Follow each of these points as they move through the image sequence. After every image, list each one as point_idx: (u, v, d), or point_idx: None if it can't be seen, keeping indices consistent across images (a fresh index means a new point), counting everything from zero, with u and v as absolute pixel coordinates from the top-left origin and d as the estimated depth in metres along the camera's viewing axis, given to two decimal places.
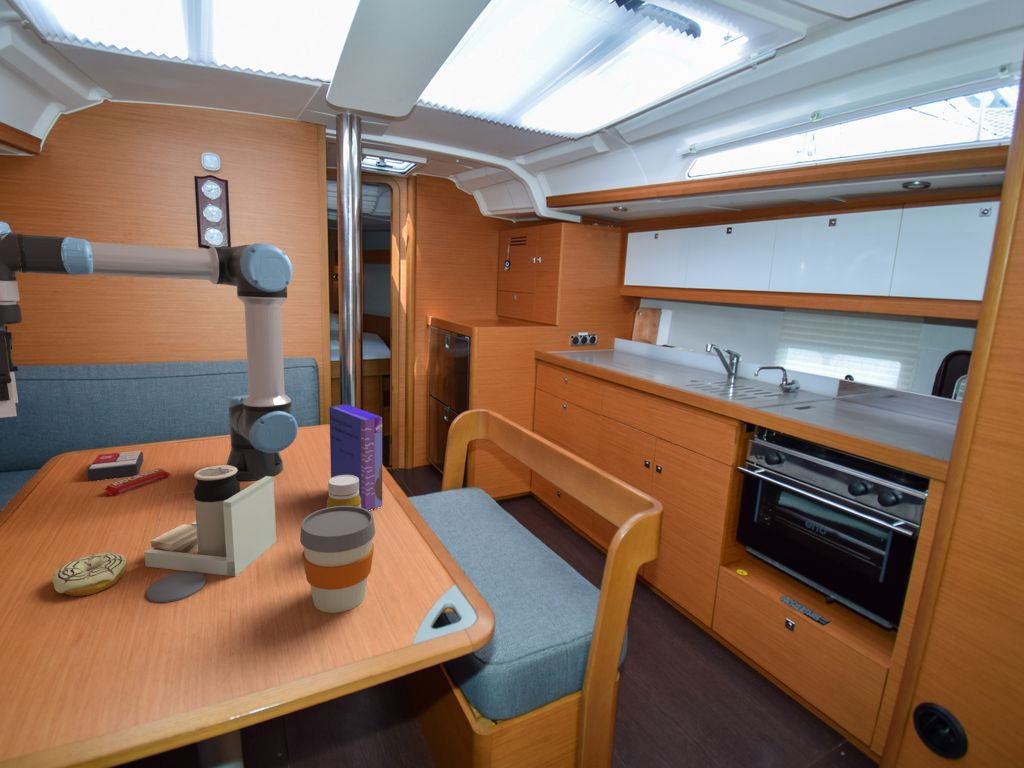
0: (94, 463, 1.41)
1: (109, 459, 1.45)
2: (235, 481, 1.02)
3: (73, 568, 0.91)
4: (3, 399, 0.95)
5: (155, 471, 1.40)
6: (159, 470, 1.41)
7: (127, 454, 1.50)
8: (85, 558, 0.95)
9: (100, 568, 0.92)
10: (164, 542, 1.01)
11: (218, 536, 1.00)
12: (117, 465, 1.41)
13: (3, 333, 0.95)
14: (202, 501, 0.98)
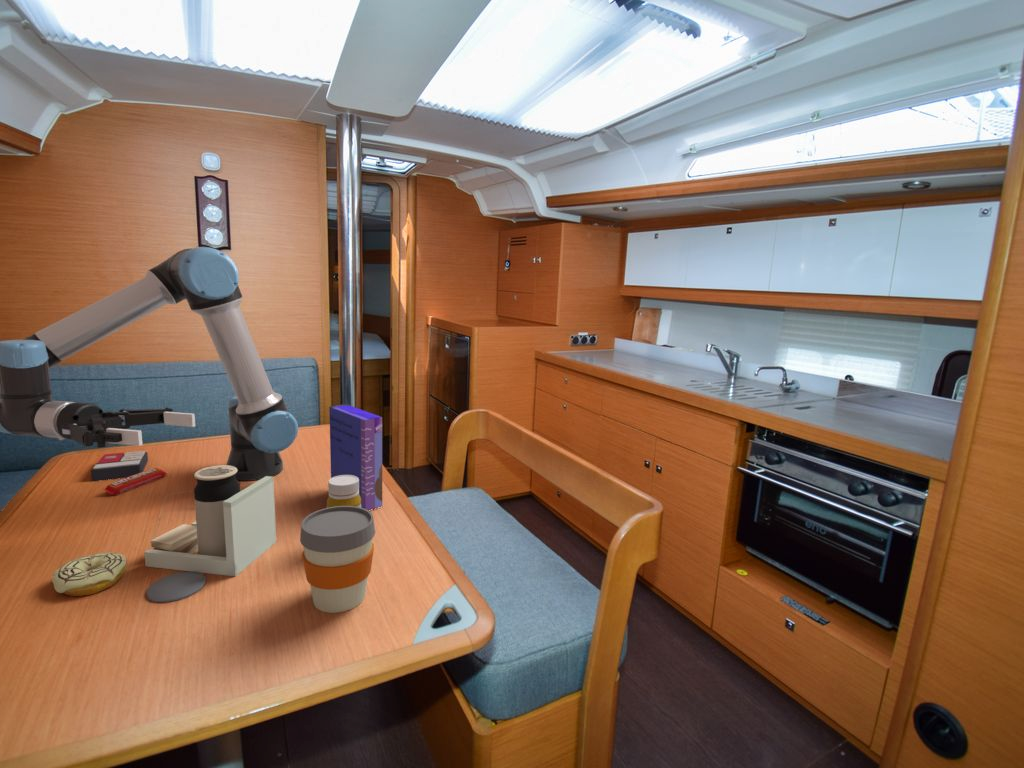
0: (98, 463, 1.42)
1: (113, 459, 1.45)
2: (235, 481, 1.02)
3: (73, 568, 0.91)
4: (115, 439, 0.93)
5: (152, 470, 1.41)
6: (156, 469, 1.42)
7: (132, 454, 1.50)
8: (85, 558, 0.95)
9: (100, 568, 0.92)
10: (164, 542, 1.01)
11: (218, 536, 1.00)
12: (120, 465, 1.41)
13: (63, 425, 0.96)
14: (202, 501, 0.98)
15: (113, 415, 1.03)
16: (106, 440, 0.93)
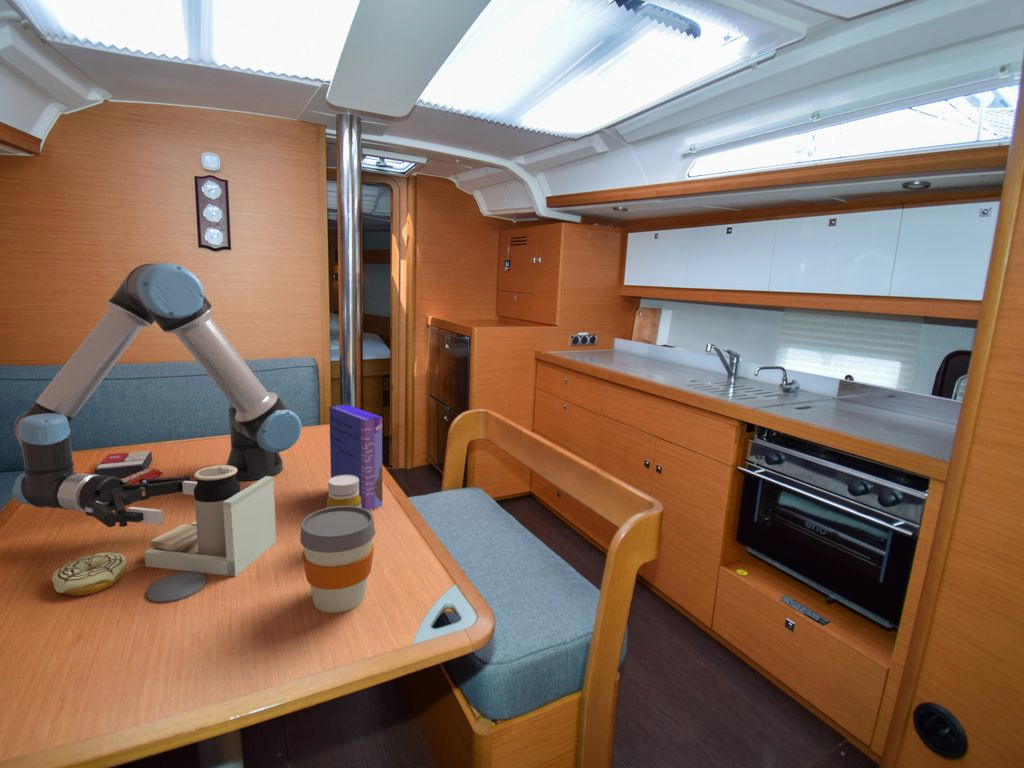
0: (102, 463, 1.42)
1: (117, 459, 1.45)
2: (235, 481, 1.02)
3: (73, 568, 0.91)
4: (137, 519, 0.95)
5: (149, 470, 1.41)
6: (152, 469, 1.42)
7: (136, 454, 1.50)
8: (85, 558, 0.95)
9: (100, 568, 0.92)
10: (164, 542, 1.01)
11: (218, 536, 1.00)
12: (124, 465, 1.41)
13: (85, 503, 0.98)
14: (202, 501, 0.98)
15: (133, 487, 1.05)
16: (128, 520, 0.95)
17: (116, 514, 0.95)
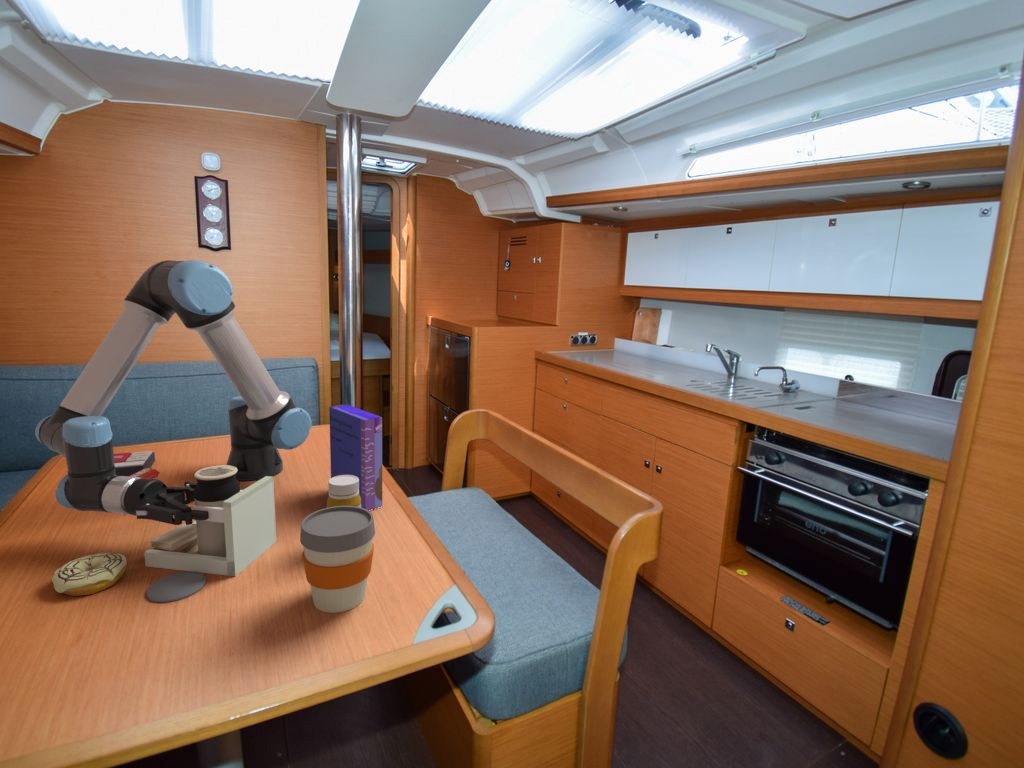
0: None
1: (119, 459, 1.45)
2: (235, 481, 1.02)
3: (73, 568, 0.91)
4: (203, 517, 0.97)
5: (147, 470, 1.41)
6: (150, 469, 1.42)
7: (138, 454, 1.50)
8: (86, 558, 0.95)
9: (100, 568, 0.92)
10: (164, 542, 1.01)
11: (218, 536, 1.00)
12: (125, 466, 1.41)
13: (137, 507, 0.97)
14: (202, 501, 0.98)
15: (175, 491, 1.04)
16: (194, 518, 0.97)
17: (184, 512, 0.96)
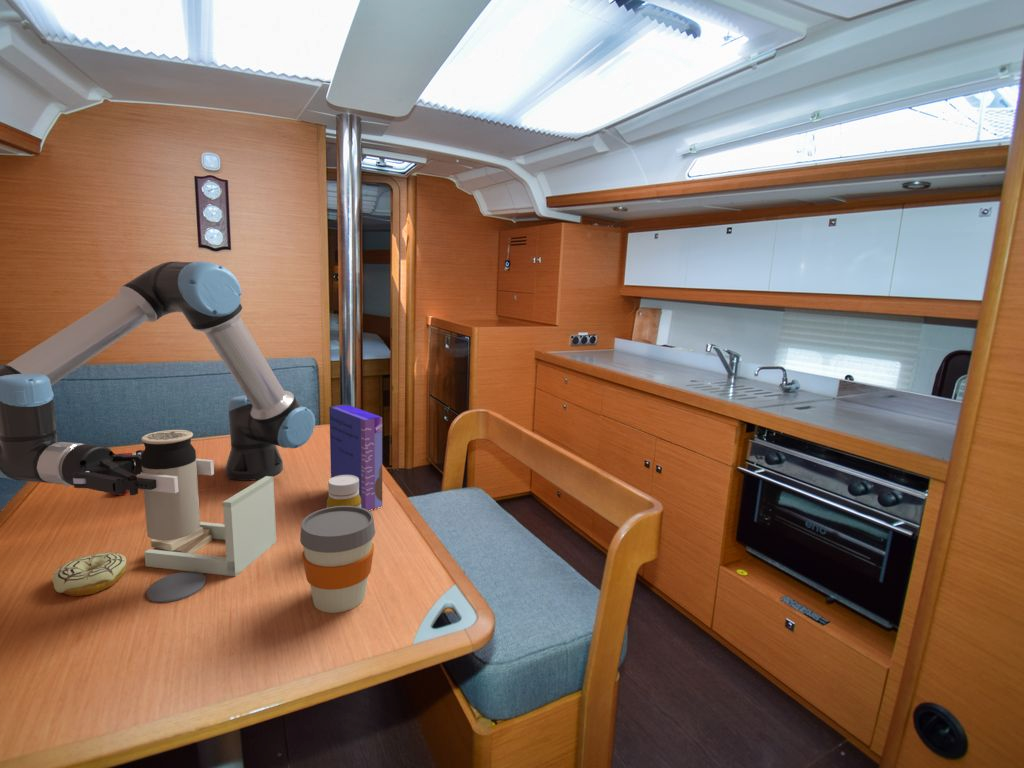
0: None
1: None
2: (190, 447, 0.90)
3: (73, 568, 0.91)
4: (149, 486, 0.84)
5: None
6: None
7: None
8: (86, 558, 0.95)
9: (100, 568, 0.92)
10: (164, 542, 1.01)
11: (168, 509, 0.87)
12: None
13: (75, 474, 0.84)
14: (149, 468, 0.86)
15: (123, 459, 0.92)
16: (139, 487, 0.84)
17: (127, 481, 0.84)
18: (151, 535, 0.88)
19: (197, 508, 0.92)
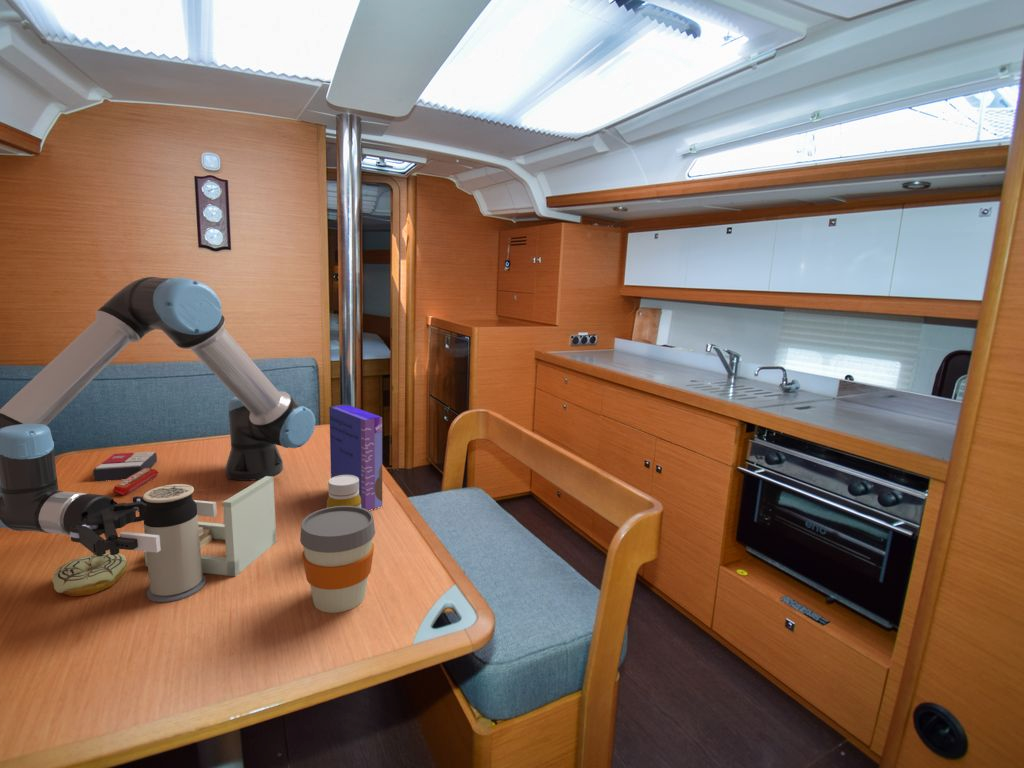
0: (103, 463, 1.42)
1: (119, 459, 1.45)
2: (191, 502, 0.91)
3: (73, 568, 0.91)
4: (130, 546, 0.82)
5: (147, 470, 1.41)
6: (149, 469, 1.42)
7: (139, 455, 1.50)
8: (86, 558, 0.95)
9: (99, 568, 0.92)
10: None
11: (170, 565, 0.88)
12: (122, 466, 1.40)
13: (71, 528, 0.85)
14: (151, 526, 0.87)
15: (126, 507, 0.93)
16: (120, 547, 0.83)
17: (106, 541, 0.82)
18: (154, 591, 0.89)
19: (199, 561, 0.93)
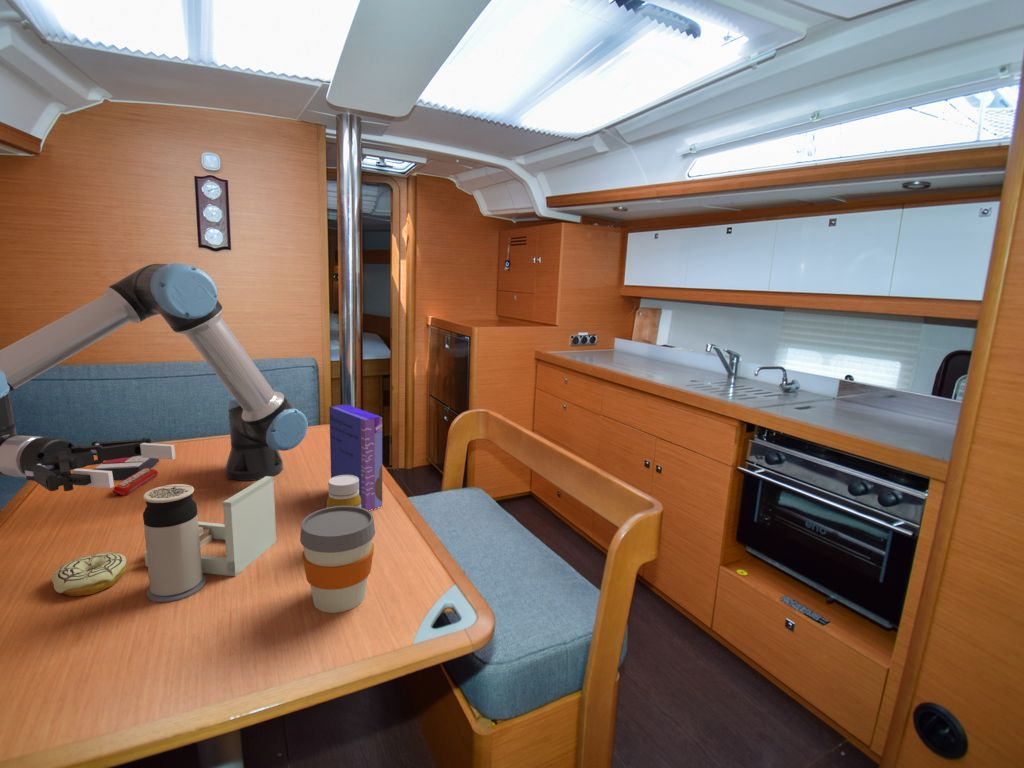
0: (103, 463, 1.42)
1: (120, 459, 1.45)
2: (191, 503, 0.90)
3: (73, 568, 0.91)
4: (83, 481, 0.83)
5: (147, 470, 1.41)
6: (149, 469, 1.42)
7: None
8: (86, 558, 0.95)
9: (99, 568, 0.92)
10: None
11: (170, 565, 0.88)
12: (121, 467, 1.40)
13: (25, 466, 0.86)
14: (151, 526, 0.86)
15: (83, 450, 0.94)
16: (73, 483, 0.84)
17: (59, 476, 0.83)
18: (154, 591, 0.89)
19: (199, 561, 0.93)
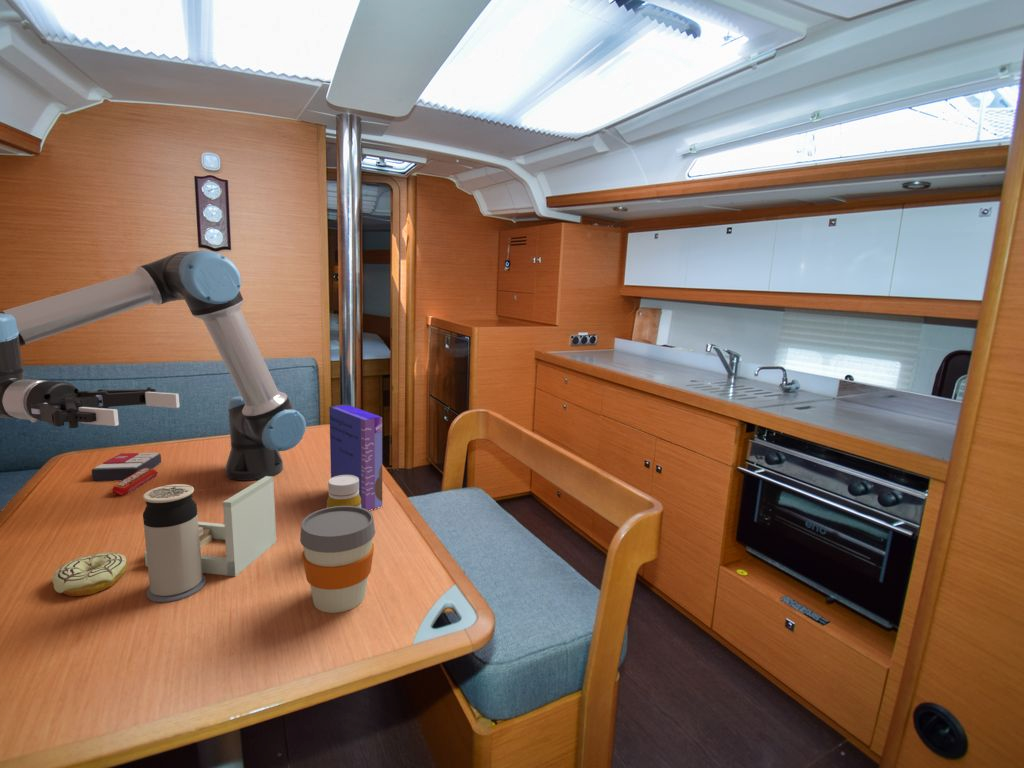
0: (104, 463, 1.42)
1: (120, 460, 1.45)
2: (191, 503, 0.90)
3: (73, 568, 0.91)
4: (88, 418, 0.85)
5: (146, 470, 1.41)
6: (148, 469, 1.42)
7: (142, 455, 1.50)
8: (86, 557, 0.95)
9: (99, 568, 0.92)
10: None
11: (170, 565, 0.88)
12: (119, 467, 1.39)
13: (32, 404, 0.87)
14: (151, 526, 0.86)
15: (89, 394, 0.95)
16: (78, 419, 0.85)
17: (65, 413, 0.84)
18: (154, 591, 0.89)
19: (199, 561, 0.93)
